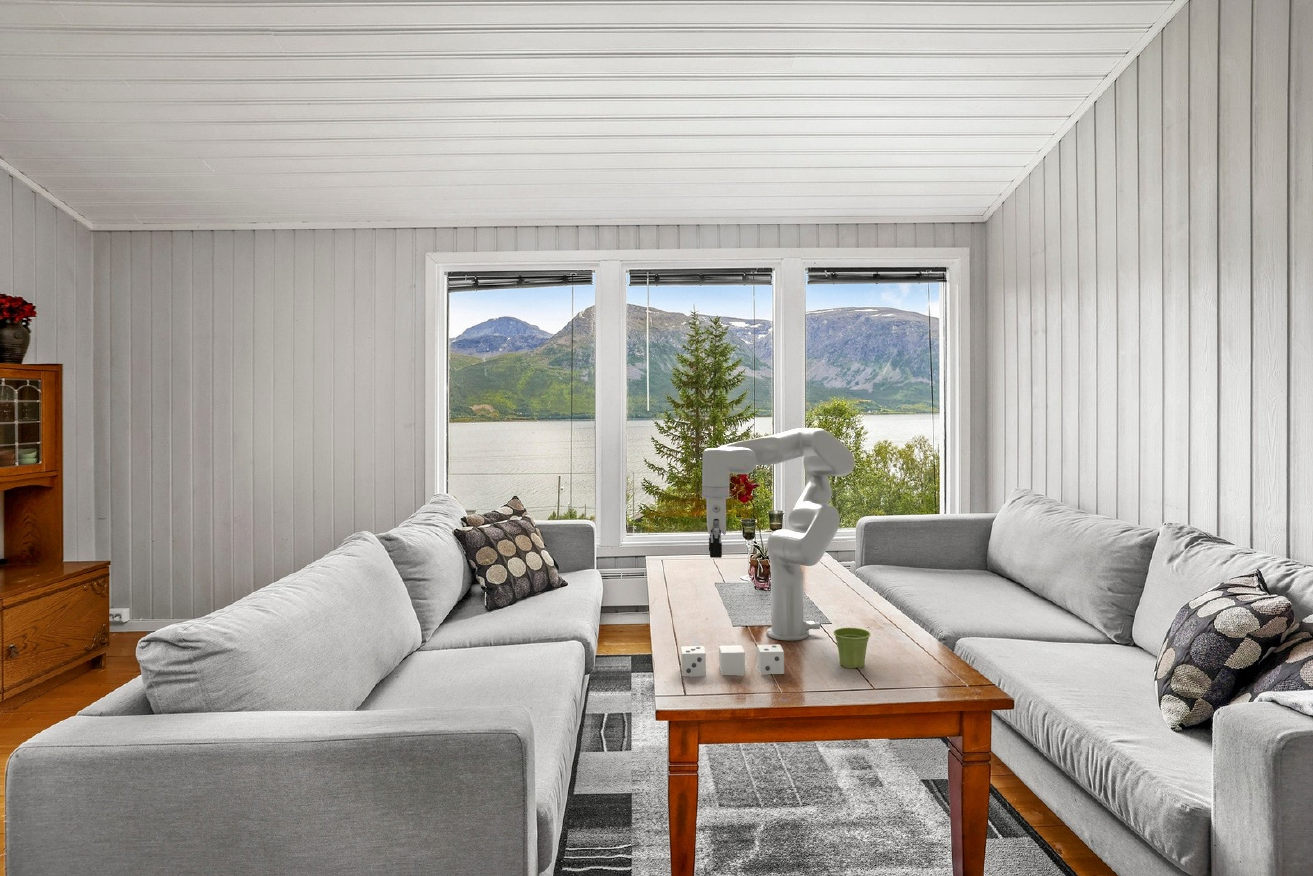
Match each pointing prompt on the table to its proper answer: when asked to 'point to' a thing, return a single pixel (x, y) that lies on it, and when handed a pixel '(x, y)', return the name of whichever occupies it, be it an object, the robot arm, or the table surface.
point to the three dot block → (693, 661)
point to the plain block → (732, 660)
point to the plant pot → (852, 646)
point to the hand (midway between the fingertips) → (715, 554)
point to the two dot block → (770, 659)
